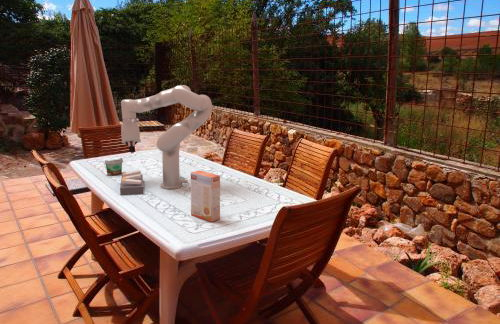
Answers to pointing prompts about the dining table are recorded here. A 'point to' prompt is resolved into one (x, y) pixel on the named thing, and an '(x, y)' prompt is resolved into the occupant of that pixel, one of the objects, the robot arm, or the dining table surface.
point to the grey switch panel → (131, 187)
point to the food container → (114, 167)
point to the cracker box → (205, 195)
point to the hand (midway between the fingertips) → (132, 152)
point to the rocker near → (131, 181)
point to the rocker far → (131, 173)
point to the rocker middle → (133, 176)
